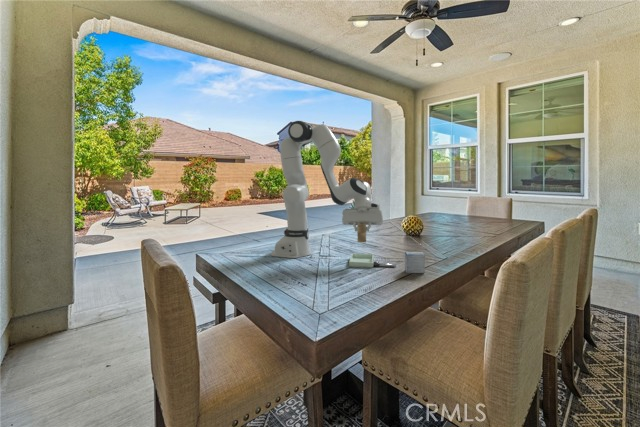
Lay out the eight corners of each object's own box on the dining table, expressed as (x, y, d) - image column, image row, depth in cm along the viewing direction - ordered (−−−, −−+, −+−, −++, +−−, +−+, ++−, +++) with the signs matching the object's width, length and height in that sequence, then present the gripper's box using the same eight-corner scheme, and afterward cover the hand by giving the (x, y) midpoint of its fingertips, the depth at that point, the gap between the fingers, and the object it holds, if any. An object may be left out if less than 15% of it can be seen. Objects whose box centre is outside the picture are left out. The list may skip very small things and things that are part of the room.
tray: (349, 267, 145) (349, 261, 145) (351, 258, 160) (351, 253, 160) (372, 267, 143) (372, 262, 143) (373, 258, 158) (373, 254, 158)
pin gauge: (373, 266, 145) (373, 262, 144) (373, 265, 147) (373, 261, 146) (395, 267, 143) (395, 263, 142) (395, 266, 145) (395, 261, 144)
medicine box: (422, 270, 138) (422, 251, 137) (424, 273, 134) (425, 254, 133) (404, 270, 139) (404, 251, 138) (406, 273, 135) (406, 254, 133)
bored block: (357, 242, 149) (357, 224, 147) (358, 240, 152) (357, 222, 151) (365, 242, 148) (365, 224, 147) (366, 240, 152) (366, 222, 151)
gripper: (342, 205, 158) (340, 227, 149) (382, 204, 154) (382, 227, 145) (343, 212, 163) (341, 234, 154) (382, 212, 159) (382, 234, 150)
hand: (361, 231), depth 150 cm, fingers closed on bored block, 4 cm apart
